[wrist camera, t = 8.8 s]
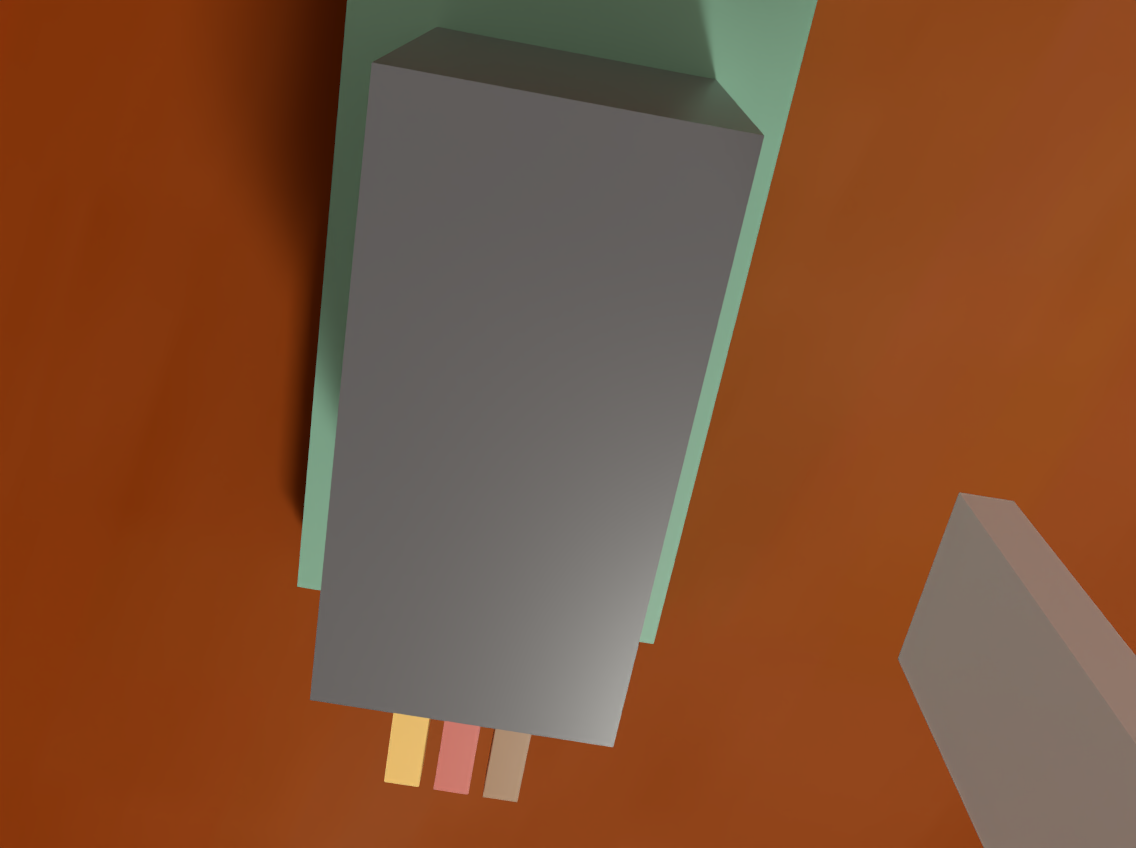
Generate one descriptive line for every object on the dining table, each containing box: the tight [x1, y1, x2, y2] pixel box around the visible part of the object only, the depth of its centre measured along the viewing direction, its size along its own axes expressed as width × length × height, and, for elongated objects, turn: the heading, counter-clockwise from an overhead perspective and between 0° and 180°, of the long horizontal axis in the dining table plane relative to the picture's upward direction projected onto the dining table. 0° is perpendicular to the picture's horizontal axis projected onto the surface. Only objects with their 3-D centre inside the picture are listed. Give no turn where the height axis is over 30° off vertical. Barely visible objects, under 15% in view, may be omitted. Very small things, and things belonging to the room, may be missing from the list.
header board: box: [297, 0, 817, 644], centre depth 20 cm, size 8×14×5 cm, turn 170°
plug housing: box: [310, 27, 764, 802], centre depth 19 cm, size 14×5×6 cm, turn 170°
